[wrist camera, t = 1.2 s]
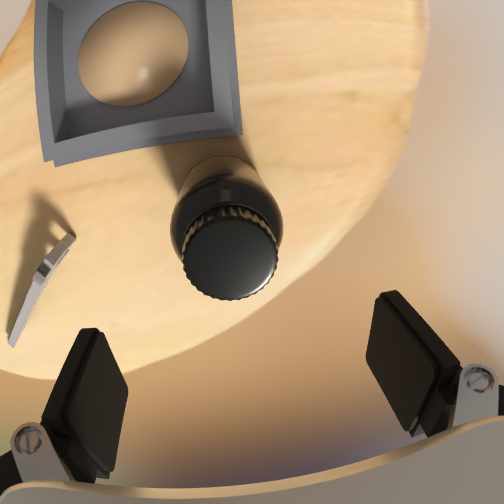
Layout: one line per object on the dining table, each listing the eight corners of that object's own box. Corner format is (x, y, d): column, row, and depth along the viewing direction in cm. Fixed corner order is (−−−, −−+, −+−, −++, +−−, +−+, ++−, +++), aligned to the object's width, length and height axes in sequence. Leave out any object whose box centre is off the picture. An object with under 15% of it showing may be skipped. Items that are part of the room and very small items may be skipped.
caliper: (70, 228, 26) (41, 258, 20) (79, 236, 26) (51, 267, 20) (9, 341, 30) (-11, 373, 24) (15, 346, 30) (-4, 378, 25)
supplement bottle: (166, 182, 25) (132, 237, 14) (238, 139, 24) (259, 161, 13) (208, 247, 28) (209, 335, 17) (277, 209, 27) (320, 277, 16)
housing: (49, 3, 16) (29, -8, 12) (227, -38, 17) (230, -59, 13) (59, 165, 23) (38, 174, 19) (241, 134, 24) (246, 137, 20)
